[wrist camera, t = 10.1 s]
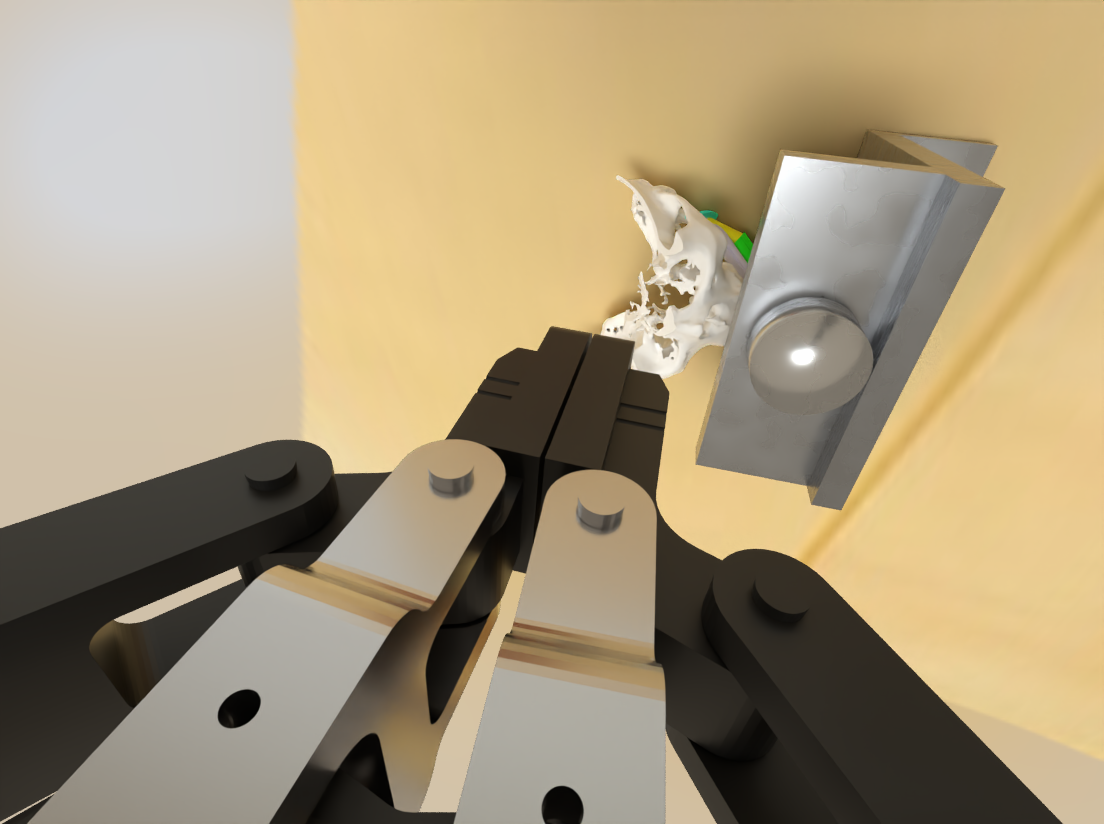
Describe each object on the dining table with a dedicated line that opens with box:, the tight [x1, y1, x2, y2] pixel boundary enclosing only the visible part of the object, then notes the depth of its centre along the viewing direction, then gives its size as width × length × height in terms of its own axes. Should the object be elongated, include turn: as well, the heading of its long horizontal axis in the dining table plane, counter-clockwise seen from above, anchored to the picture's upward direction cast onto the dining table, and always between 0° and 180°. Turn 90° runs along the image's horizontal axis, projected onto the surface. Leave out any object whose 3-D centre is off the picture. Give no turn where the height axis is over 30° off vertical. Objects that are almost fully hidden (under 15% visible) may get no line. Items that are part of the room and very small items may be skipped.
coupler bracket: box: [696, 130, 1005, 510], centre depth 30 cm, size 16×12×14 cm
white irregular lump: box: [600, 175, 753, 379], centre depth 36 cm, size 12×9×10 cm
